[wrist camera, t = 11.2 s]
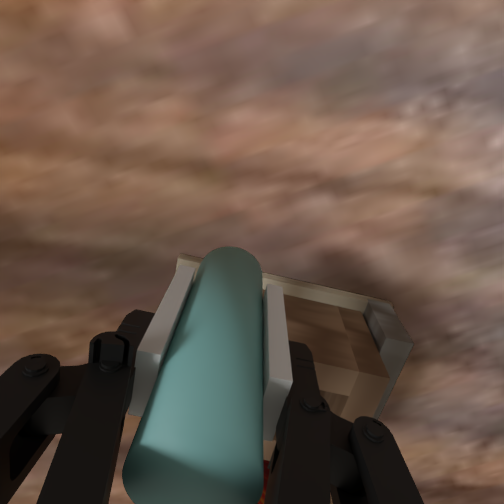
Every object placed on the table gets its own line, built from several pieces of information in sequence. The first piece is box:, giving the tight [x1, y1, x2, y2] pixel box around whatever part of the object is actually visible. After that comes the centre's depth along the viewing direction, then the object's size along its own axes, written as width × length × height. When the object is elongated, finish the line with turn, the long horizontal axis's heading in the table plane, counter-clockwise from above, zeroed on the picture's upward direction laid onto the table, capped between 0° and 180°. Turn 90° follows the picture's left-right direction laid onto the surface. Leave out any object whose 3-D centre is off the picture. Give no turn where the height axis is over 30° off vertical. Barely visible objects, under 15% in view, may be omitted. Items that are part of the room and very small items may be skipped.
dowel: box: [122, 247, 264, 504], centre depth 15 cm, size 4×4×12 cm
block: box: [263, 289, 390, 461], centre depth 28 cm, size 9×9×8 cm
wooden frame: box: [175, 254, 414, 420], centre depth 30 cm, size 18×11×6 cm, turn 77°
